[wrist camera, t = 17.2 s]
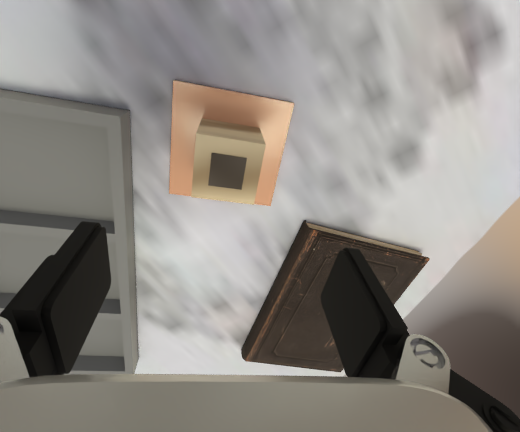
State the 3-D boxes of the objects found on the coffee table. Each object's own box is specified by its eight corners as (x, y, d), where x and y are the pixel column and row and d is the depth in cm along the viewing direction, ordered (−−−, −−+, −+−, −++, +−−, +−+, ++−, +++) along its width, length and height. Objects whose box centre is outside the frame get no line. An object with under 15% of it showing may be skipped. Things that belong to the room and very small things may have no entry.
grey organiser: (-115, 69, 21) (-154, 72, 19) (130, 110, 24) (120, 116, 22) (2, 355, 38) (-12, 373, 35) (138, 358, 41) (133, 376, 38)
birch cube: (201, 118, 24) (195, 133, 20) (259, 127, 25) (266, 144, 21) (197, 172, 27) (191, 197, 22) (250, 179, 28) (253, 205, 23)
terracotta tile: (174, 79, 23) (173, 80, 23) (292, 102, 25) (294, 103, 24) (170, 190, 28) (169, 193, 27) (269, 203, 30) (270, 206, 29)
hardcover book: (418, 247, 36) (430, 259, 34) (335, 358, 46) (340, 372, 44) (302, 217, 32) (307, 228, 30) (240, 346, 42) (241, 360, 40)
